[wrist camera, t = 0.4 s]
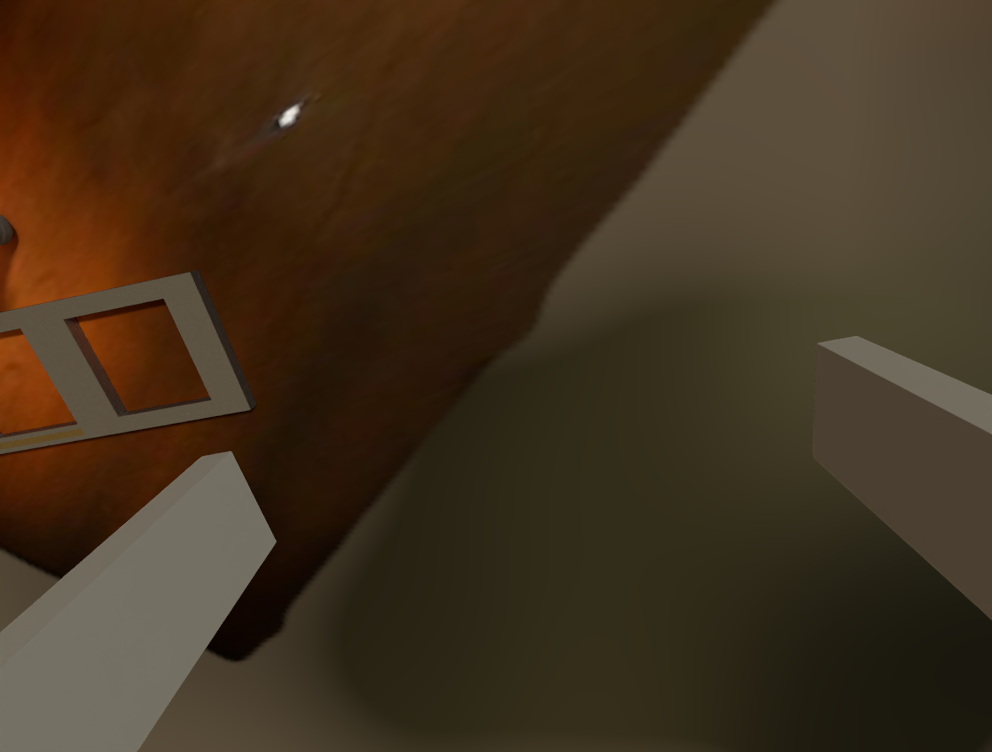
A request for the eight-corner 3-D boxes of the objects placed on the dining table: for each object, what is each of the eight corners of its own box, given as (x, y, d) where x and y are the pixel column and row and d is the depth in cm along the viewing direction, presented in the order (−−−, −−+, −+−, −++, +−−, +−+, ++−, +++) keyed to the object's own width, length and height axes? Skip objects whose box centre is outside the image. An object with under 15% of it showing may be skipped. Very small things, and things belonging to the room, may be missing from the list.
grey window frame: (-101, 333, 40) (-117, 337, 39) (198, 270, 37) (189, 272, 36) (-17, 453, 44) (-29, 459, 43) (256, 404, 41) (250, 410, 40)
